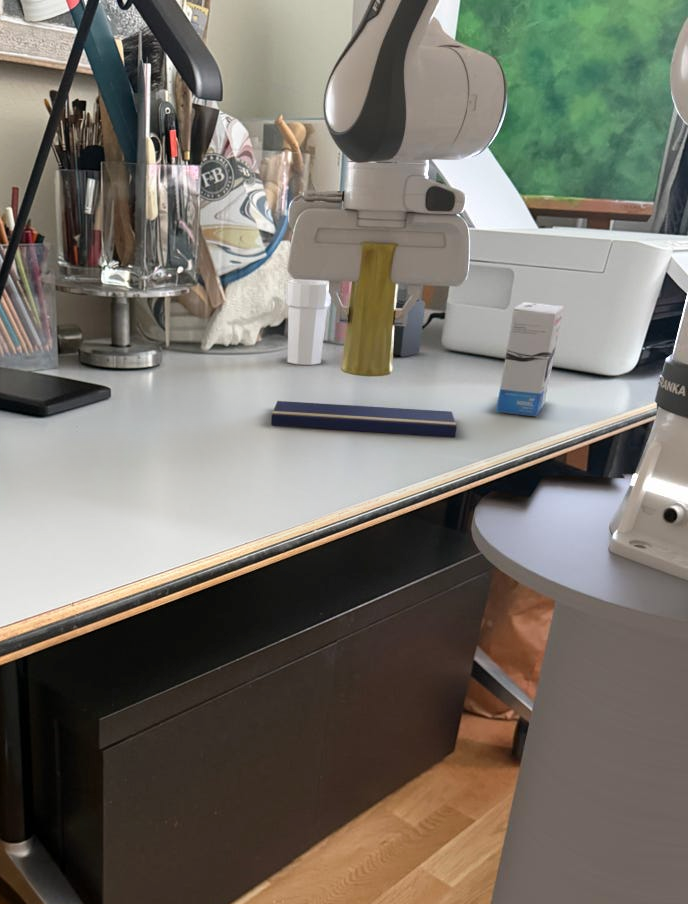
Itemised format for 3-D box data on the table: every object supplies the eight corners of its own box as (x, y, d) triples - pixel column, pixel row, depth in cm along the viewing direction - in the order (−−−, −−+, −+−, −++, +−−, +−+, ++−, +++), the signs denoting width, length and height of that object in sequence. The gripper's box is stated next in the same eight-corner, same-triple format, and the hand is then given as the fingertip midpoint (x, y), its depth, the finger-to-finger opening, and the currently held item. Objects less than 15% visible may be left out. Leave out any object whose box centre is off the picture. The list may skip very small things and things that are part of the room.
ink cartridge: (407, 351, 147) (413, 298, 143) (419, 354, 146) (426, 299, 142) (388, 355, 144) (394, 300, 140) (400, 357, 142) (406, 302, 139)
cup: (291, 355, 141) (296, 278, 136) (332, 360, 139) (339, 281, 134) (274, 362, 136) (278, 282, 131) (316, 367, 134) (323, 286, 129)
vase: (381, 379, 108) (395, 245, 101) (332, 372, 110) (343, 241, 104) (399, 370, 112) (414, 242, 106) (351, 364, 115) (363, 239, 108)
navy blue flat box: (450, 421, 107) (452, 410, 106) (455, 437, 101) (457, 425, 100) (276, 410, 109) (277, 399, 109) (271, 425, 103) (271, 413, 103)
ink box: (537, 418, 110) (557, 312, 104) (494, 412, 111) (511, 308, 106) (546, 403, 117) (565, 304, 111) (505, 398, 118) (522, 300, 113)
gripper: (287, 190, 101) (279, 323, 107) (481, 196, 98) (461, 332, 105) (292, 188, 106) (284, 315, 113) (475, 194, 104) (457, 324, 110)
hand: (371, 324), depth 109 cm, fingers closed on vase, 5 cm apart
